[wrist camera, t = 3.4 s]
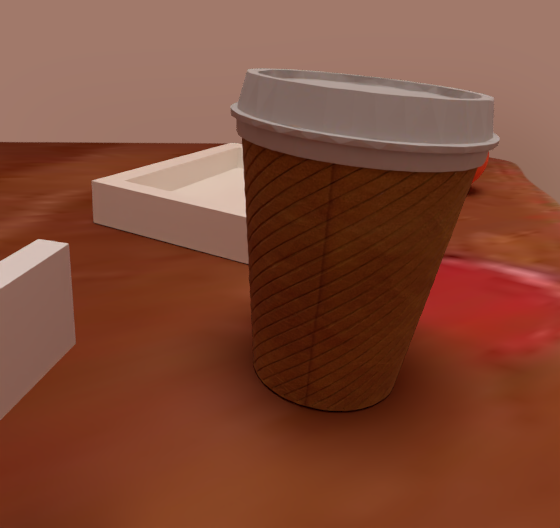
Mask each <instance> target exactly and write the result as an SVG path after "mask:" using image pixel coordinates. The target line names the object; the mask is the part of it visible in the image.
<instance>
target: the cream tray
mask: <svg viewBox="0 0 560 528" xmlns="http://www.w3.org/2000/svg"><path fill="white" fill-rule="evenodd" d="M244 188H245V182H244V164H243V148H242V144H237V143H229V144H225V145H222V146H218V147H214V148H211V149H207V150H203V151H200V152H196V153H192V154H188V155H185V156H181V157H177V158H174V159H170V160H166V161H163V162H159V163H155V164H152V165H148V166H144V167H141V168H137V169H133V170H130V171H126V172H122V173H119V174H115V175H111V176H108V177H104V178H100V179H97V180H93V181H92V198H93V219H94V223H97V224H101V225H105V226H108V227H112V228H116V229H120V230H123V231H127V232H131V233H134V234H138V235H142V236H146V237H149V238H153V239H157V240H160V241H164V242H168V243H172V244H175V245H179V246H183V247H186V248H190V249H194V250H197V251H201V252H205V253H209V254H212V255H216V256H220V257H223V258H227V259H231V260H235V261H238V262H242V263H246V264H248V262H249V257H248V242H247V225H246V199H245V191H244Z"/></svg>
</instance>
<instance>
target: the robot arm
mask: <svg viewBox="0 0 560 528" xmlns="http://www.w3.org/2000/svg"><path fill="white" fill-rule="evenodd" d="M75 344H76V341H75V326H74V312H73V297H72V283H71V268H70V254H69V244H67V243H61V242H54V241H48V240H41V239H38V240H36V241H34V242H33V243H31V244H29V245H27V246H26V247H24V248H22V249H21V250H19V251H17V252H16V253H14V254H12V255H10V256H9V257H7V258H5V259H4V260H2V261H0V420H1V419H2V418H3V417H4V416H5V415H6V414H7V413H8V412H9V411H10V410H11V409H12V408H13V407H14V406H15V405H16V404H17V403H18V402H19V401H20V400H21V399H22V398H23V397H24V396H25V394H26V393H27V392H28V391H29V390H30V389H31V388H32V387H33V386H34V385H35V384H36V383H37V382H38V381H39V380H40V379H41V378H42V377H43V376H44V375H45V374H46V373H47V372H48V371H49V370H50V369H51V368H52V367H53V366H54V365H55V364H56V363H57V362H58V361H59V360H60V359H61V358H62V357H63V356H64V355H65V354H66V353H67V352H68V351H69V350H70V349H71V348H72V347H73V346H74V345H75Z"/></svg>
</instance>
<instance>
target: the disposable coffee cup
mask: <svg viewBox="0 0 560 528" xmlns="http://www.w3.org/2000/svg"><path fill="white" fill-rule="evenodd" d="M493 113H494V98H493V97H491V96H488V95H485V94H481V93H476V92H471V91H466V90H461V89H457V88H449V87H443V86H436V85H430V84H424V83H417V82H410V81H403V80H395V79H386V78H378V77H369V76H359V75H350V74H340V73H329V72H318V71H306V70H290V69H289V70H288V69H249V70H247V73H246V77H245V80H244V84H243V87H242V91H241V94H240V98H239V101H238V102H236V103H235V104H233V105H231V115H232V116H233V117H235V118H236V119H237V132H238V135H239V136H241V137H242V148H243V164H244V182H245V188H244V191H245V199H246V225H247V242H248V257H249V262H248V265H249V283H250V297H251V313H252V315H251V320H252V336H253V363H254V368H255V371H256V373H257V375H258V377H259V378H260V379H261V380H262V382H263V383H264V384H265V385H266V386H268V387H269V388H270V389H271V390H273V391H274V392H275V393H277V394H278V395H280V396H282V397H283V398H285V399H287V400H290V401H292V402H295V403H297V404H299V405H303V406H307V407H311V408H315V409H321V410H328V411H350V410H357V409H362V408H366V407H369V406H372V405H374V404H376V403H378V402H379V401H381V400H383V399H384V398H386V397H387V396H388V395H389V394H390V392H391V390H392V388H393V386H394V384H395V381H396V378H397V376H398V373H399V371H400V368H401V365H402V363H403V360H404V357H405V355H406V352H407V350H408V347H409V345H410V342H411V339H412V337H413V334H414V331H415V329H416V326H417V324H418V321H419V318H420V316H421V314H422V311H423V309H424V306H425V303H426V300H427V298H428V296H429V293H430V290H431V287H432V285H433V283H434V280H435V276H436V274H437V271H438V269H439V266H440V263H441V261H442V258H443V256H444V253H445V250H446V248H447V246H448V243H449V241H450V238H451V236H452V232H453V230H454V227H455V225H456V222H457V219H458V217H459V214H460V211H461V209H462V206H463V203H464V201H465V198H466V196H467V194H468V191H469V189H470V186H471V184H472V181H473V178H474V176H475V173H476V171H477V168H478V167H480V166H482V165H483V164H484V163H485V161H486V158H487V155H488V152H489V150H492V149H494V148H495V147H497V146H498V143H499V140H500V138H499V137H498V136H497V135H496V134H494V133H493V115H494V114H493Z"/></svg>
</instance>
